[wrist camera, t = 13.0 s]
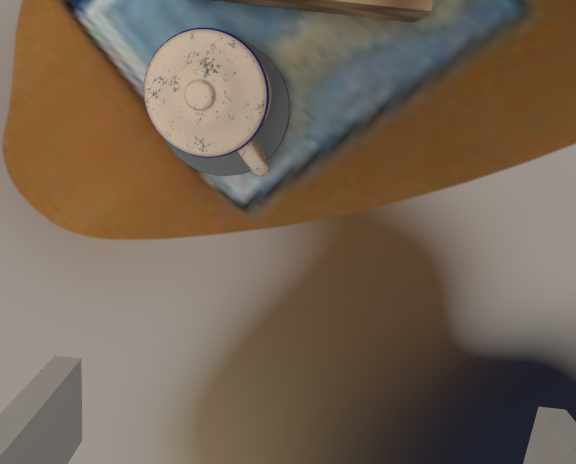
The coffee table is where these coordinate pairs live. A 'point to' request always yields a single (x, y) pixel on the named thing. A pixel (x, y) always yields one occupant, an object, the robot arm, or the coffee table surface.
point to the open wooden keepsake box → (354, 7)
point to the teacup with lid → (209, 96)
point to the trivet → (266, 135)
